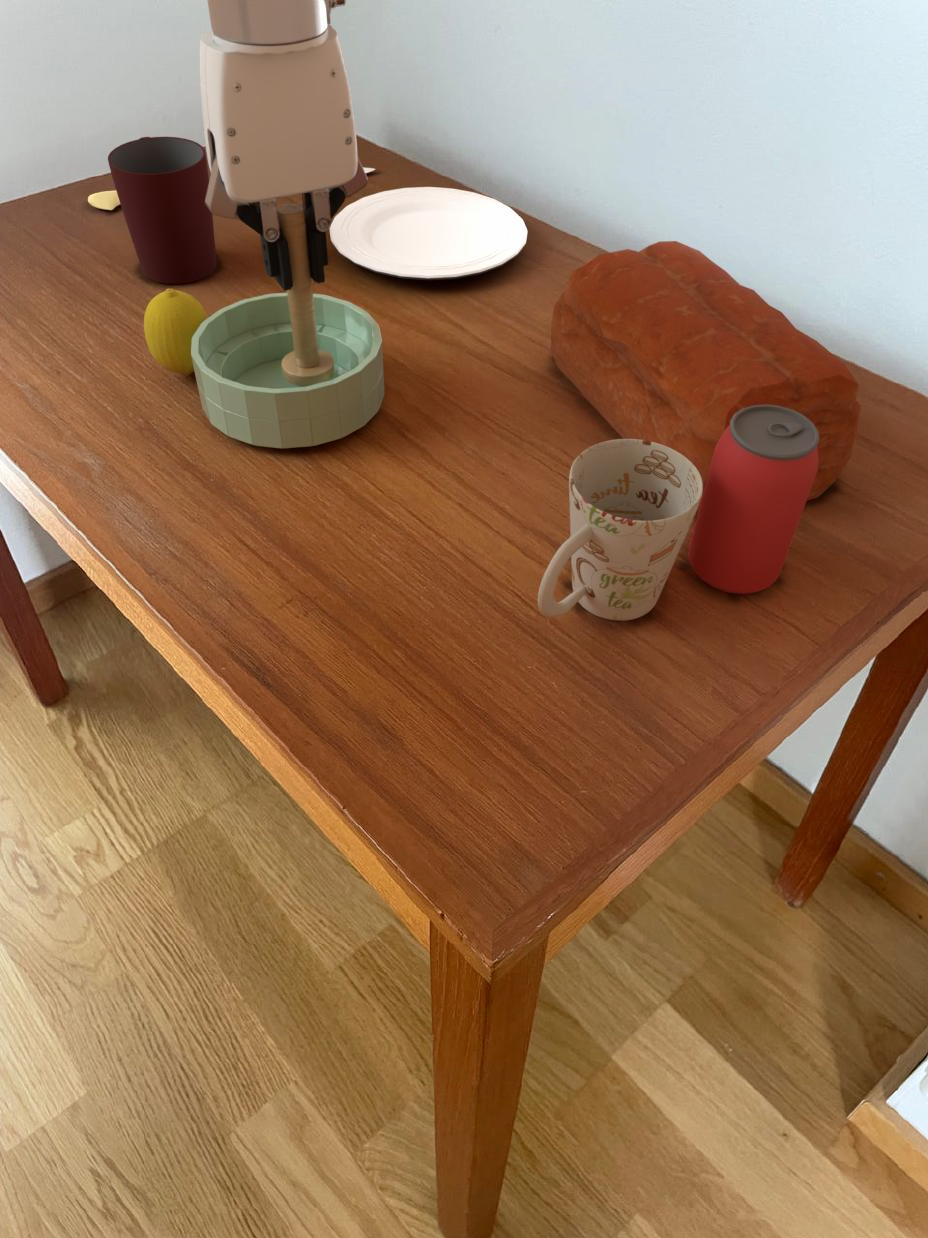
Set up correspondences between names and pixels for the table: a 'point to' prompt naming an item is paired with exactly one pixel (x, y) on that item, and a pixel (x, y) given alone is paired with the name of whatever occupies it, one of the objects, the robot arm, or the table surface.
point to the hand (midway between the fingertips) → (298, 277)
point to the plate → (428, 233)
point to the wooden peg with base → (302, 306)
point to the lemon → (173, 329)
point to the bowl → (254, 383)
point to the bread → (694, 356)
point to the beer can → (754, 498)
